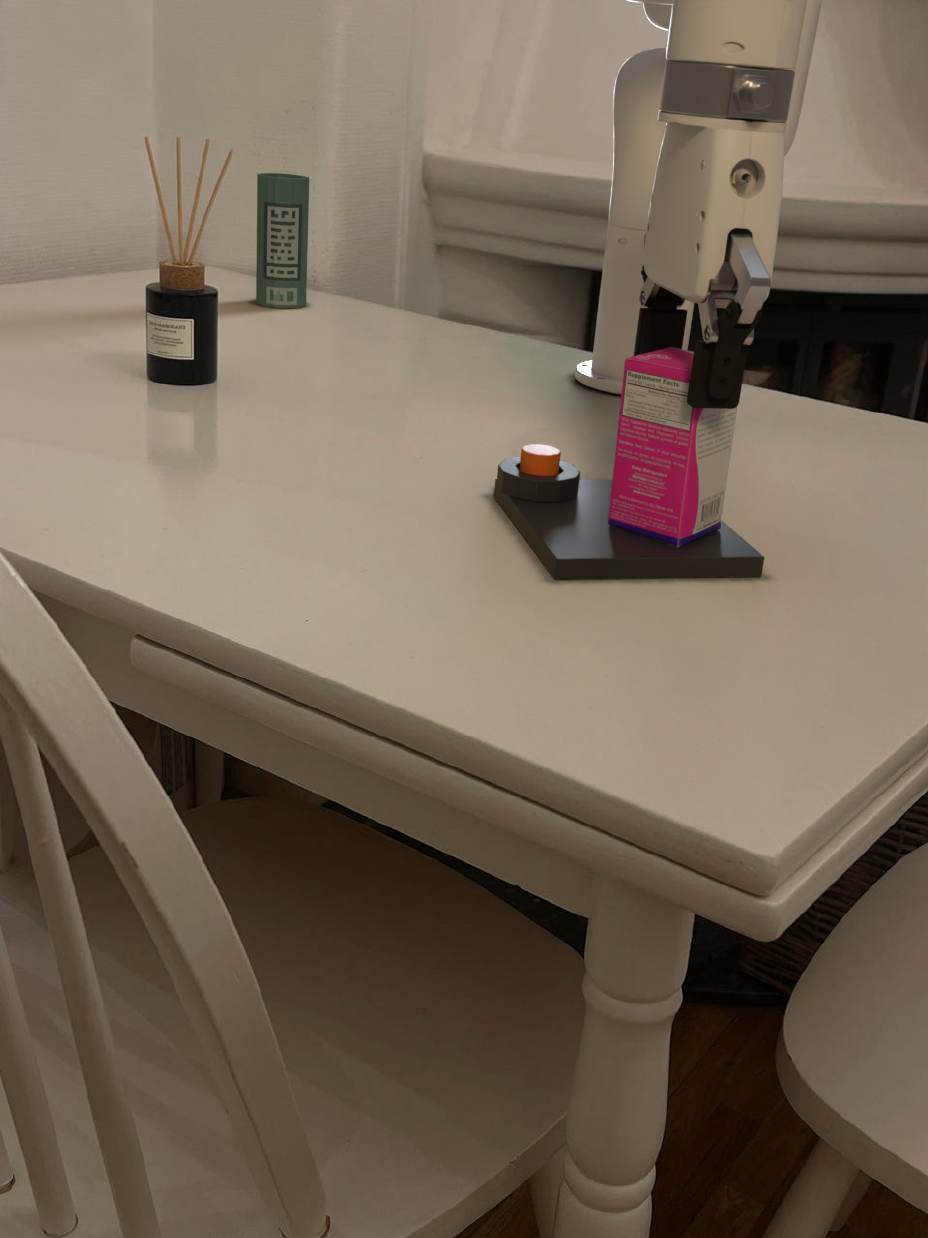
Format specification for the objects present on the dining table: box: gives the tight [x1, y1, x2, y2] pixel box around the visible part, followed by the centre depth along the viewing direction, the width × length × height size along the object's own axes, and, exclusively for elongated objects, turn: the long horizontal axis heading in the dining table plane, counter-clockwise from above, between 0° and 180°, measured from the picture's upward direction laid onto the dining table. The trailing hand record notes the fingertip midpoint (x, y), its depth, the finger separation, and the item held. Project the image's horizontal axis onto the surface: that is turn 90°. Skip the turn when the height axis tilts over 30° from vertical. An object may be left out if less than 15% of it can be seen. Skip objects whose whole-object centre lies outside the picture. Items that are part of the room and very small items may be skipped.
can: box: [255, 172, 310, 309], centre depth 153 cm, size 6×6×15 cm
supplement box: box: [608, 347, 738, 547], centre depth 82 cm, size 6×6×12 cm
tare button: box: [519, 443, 562, 476], centre depth 89 cm, size 3×3×2 cm
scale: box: [493, 456, 765, 581], centre depth 87 cm, size 16×14×3 cm
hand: (682, 386), depth 81 cm, fingers open, 9 cm apart
